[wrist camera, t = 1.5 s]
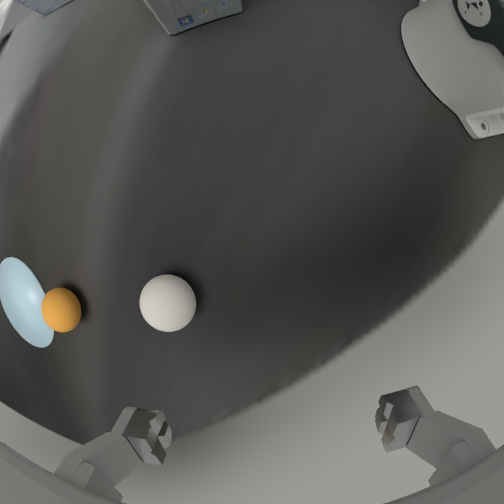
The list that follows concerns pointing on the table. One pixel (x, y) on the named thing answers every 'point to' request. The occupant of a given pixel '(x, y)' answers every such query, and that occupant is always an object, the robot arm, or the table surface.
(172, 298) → the white ball
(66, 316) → the orange ball
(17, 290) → the blue mark
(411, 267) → the table surface
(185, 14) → the hard drive box
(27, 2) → the medicine box
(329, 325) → the table surface
